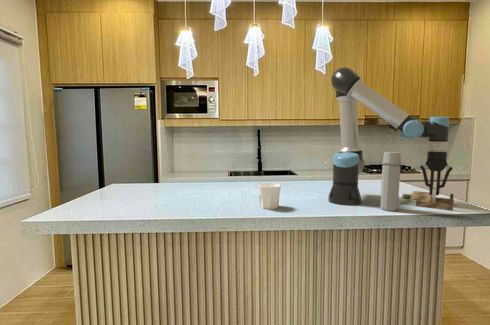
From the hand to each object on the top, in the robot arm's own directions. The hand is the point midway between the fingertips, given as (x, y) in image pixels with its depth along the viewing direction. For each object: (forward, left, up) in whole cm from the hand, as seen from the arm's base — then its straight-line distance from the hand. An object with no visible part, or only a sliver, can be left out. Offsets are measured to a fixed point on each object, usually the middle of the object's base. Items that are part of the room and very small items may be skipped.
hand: (433, 201), depth 141 cm
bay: (-3, 0, -2) cm, 3 cm away
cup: (-61, -46, -2) cm, 77 cm away
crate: (-5, 0, -2) cm, 5 cm away
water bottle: (-16, -19, -2) cm, 25 cm away
